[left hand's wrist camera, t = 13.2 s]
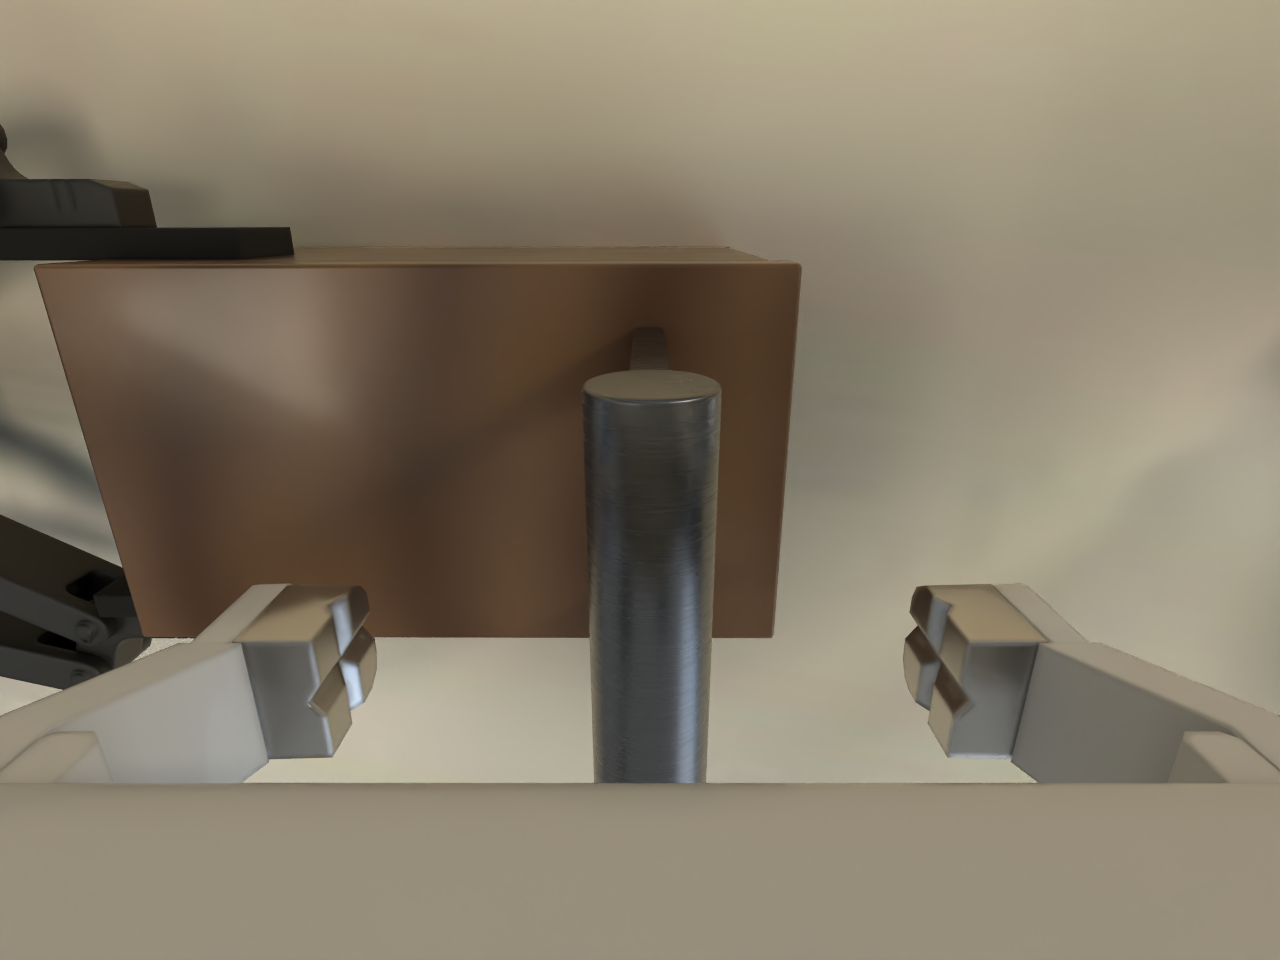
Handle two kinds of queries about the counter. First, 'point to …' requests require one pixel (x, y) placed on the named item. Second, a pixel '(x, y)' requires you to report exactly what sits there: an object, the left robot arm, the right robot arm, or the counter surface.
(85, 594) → the right robot arm
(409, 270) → the lid
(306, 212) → the counter surface
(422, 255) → the chest
